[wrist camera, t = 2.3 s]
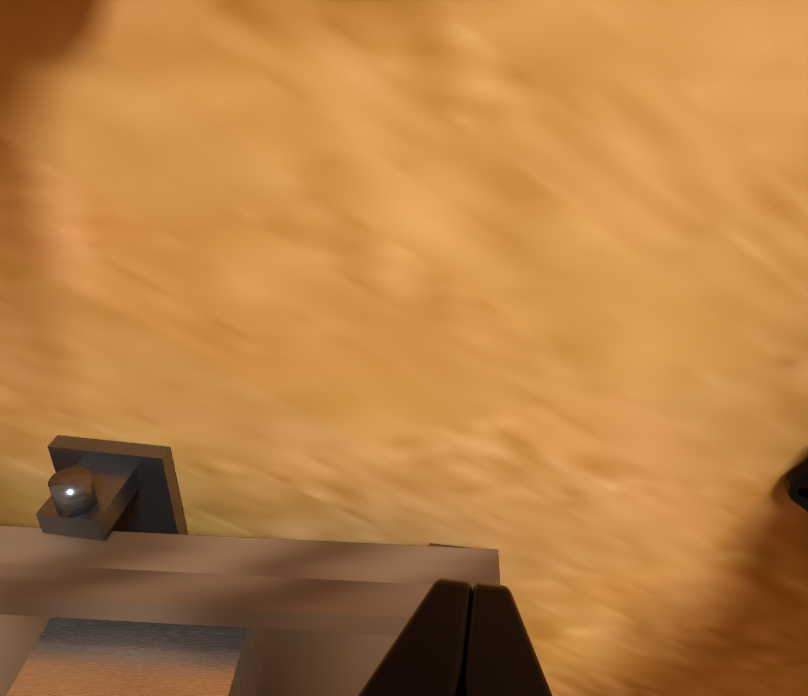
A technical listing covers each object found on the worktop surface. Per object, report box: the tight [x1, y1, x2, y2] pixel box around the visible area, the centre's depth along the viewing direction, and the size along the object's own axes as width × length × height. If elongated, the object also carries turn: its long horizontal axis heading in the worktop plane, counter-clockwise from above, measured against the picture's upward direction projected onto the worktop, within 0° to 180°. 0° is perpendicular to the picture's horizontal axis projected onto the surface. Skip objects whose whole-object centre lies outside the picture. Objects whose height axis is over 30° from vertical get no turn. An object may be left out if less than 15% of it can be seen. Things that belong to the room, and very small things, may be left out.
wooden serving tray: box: [0, 526, 500, 696], centre depth 25 cm, size 26×9×3 cm, turn 90°
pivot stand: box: [36, 435, 466, 548], centre depth 27 cm, size 25×13×3 cm, turn 90°
